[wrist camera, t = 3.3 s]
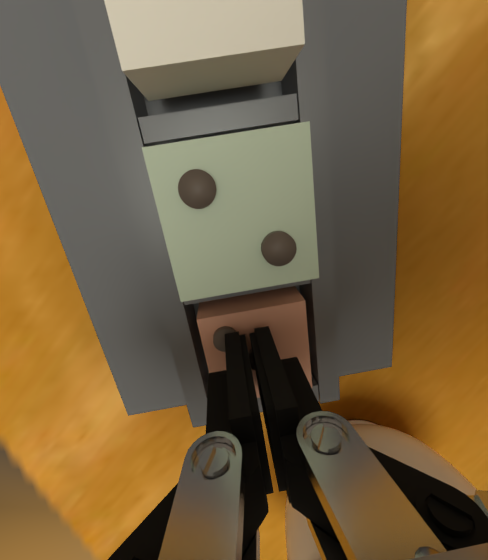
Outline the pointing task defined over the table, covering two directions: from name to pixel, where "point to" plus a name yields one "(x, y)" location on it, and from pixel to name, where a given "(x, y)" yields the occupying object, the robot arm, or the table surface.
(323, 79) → the board
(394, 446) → the lidded jar
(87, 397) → the table surface
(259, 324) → the tile three
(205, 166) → the tile two
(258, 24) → the tile one
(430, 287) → the table surface
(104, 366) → the table surface
